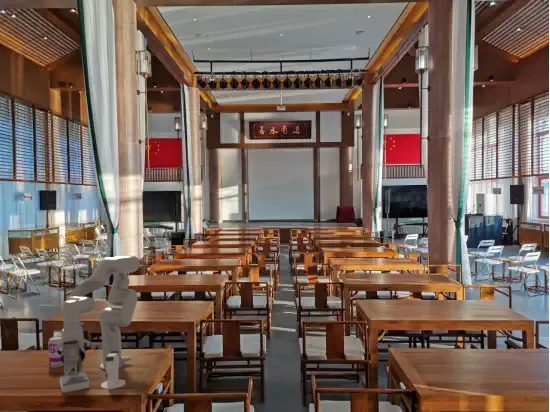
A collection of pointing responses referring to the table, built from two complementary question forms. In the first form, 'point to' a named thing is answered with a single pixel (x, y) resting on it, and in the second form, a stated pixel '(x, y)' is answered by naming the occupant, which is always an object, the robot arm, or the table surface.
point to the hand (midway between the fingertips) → (73, 361)
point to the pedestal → (74, 382)
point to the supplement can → (54, 352)
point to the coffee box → (72, 358)
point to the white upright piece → (112, 371)
